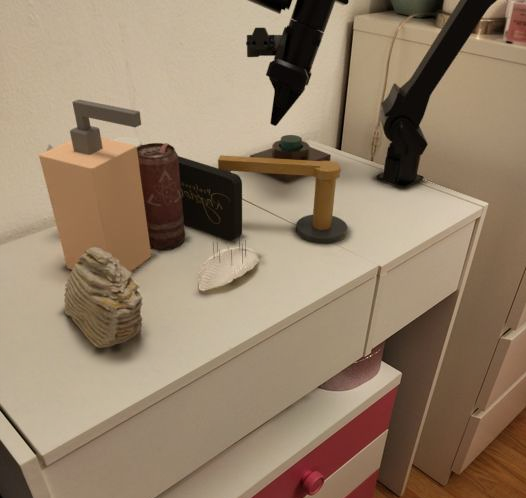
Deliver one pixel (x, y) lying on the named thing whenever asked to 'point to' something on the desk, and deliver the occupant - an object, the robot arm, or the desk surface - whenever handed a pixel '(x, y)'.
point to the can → (161, 194)
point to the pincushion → (226, 266)
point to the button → (291, 142)
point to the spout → (281, 166)
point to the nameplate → (211, 199)
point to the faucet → (322, 217)
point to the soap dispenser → (98, 189)
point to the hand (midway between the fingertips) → (273, 124)
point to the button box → (292, 157)
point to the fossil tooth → (103, 299)
